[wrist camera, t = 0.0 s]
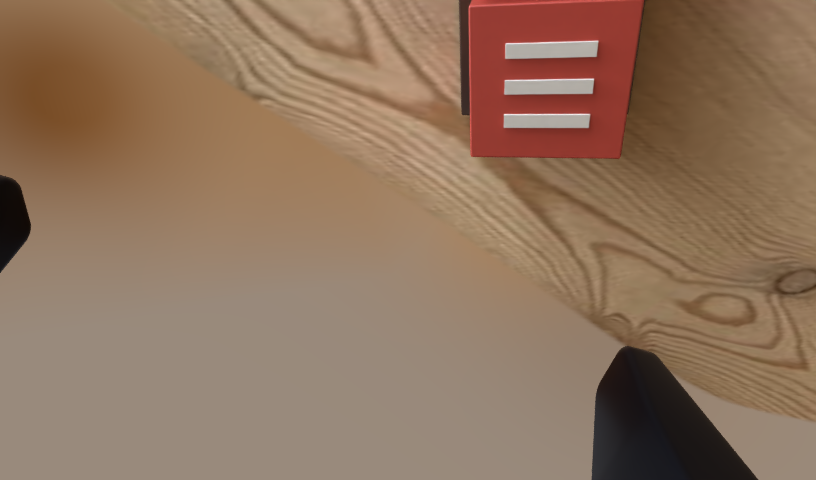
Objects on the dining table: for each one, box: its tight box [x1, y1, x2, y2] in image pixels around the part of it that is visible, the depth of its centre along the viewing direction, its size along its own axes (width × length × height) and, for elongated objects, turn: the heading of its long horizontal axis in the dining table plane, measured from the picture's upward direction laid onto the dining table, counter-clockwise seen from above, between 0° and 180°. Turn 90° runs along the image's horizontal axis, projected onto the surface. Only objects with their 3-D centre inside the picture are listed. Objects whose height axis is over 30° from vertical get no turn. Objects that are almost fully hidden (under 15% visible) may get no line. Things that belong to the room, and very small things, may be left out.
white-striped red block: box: [469, 0, 644, 159], centre depth 17 cm, size 4×4×4 cm
